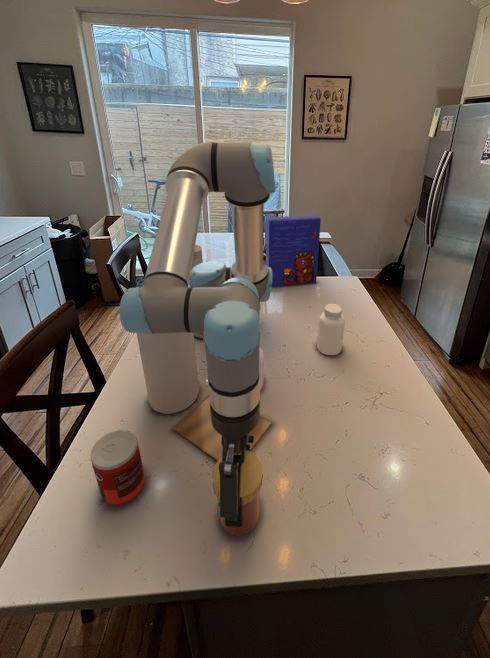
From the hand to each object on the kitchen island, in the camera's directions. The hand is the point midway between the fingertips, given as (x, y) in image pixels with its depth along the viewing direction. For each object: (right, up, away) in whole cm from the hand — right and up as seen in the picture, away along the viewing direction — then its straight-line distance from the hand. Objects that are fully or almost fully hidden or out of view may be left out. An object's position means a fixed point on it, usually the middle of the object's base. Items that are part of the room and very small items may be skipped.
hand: (238, 494), depth 59 cm
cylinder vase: (-20, +6, +27) cm, 35 cm away
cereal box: (+12, +31, +88) cm, 95 cm away
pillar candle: (-33, +33, +92) cm, 103 cm away
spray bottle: (-2, +7, +32) cm, 33 cm away
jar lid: (0, +5, -2) cm, 6 cm away
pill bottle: (+23, +13, +47) cm, 54 cm away
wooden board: (-6, +2, +19) cm, 20 cm away
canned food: (-24, -3, +6) cm, 24 cm away
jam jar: (0, -5, +2) cm, 5 cm away
